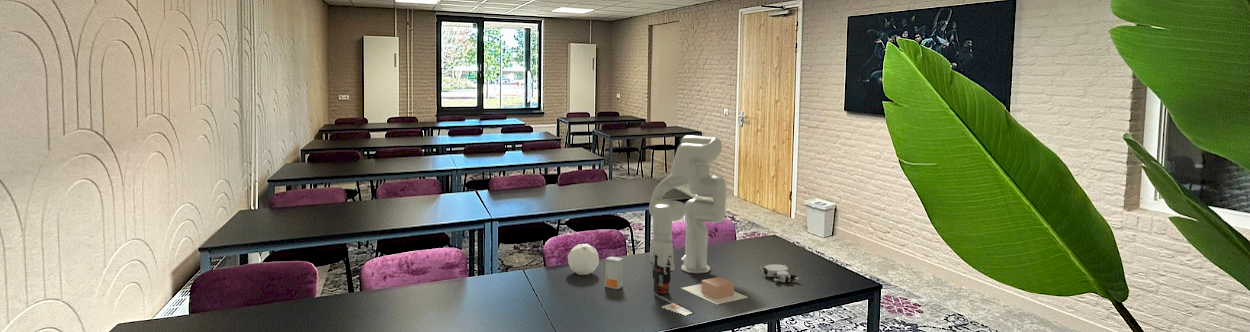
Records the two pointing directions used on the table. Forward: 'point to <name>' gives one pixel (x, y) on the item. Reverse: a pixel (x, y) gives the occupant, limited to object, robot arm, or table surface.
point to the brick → (717, 288)
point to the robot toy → (779, 273)
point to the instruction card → (678, 309)
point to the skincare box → (614, 272)
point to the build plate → (697, 291)
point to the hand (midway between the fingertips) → (661, 280)
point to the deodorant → (659, 279)
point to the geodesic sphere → (583, 259)
